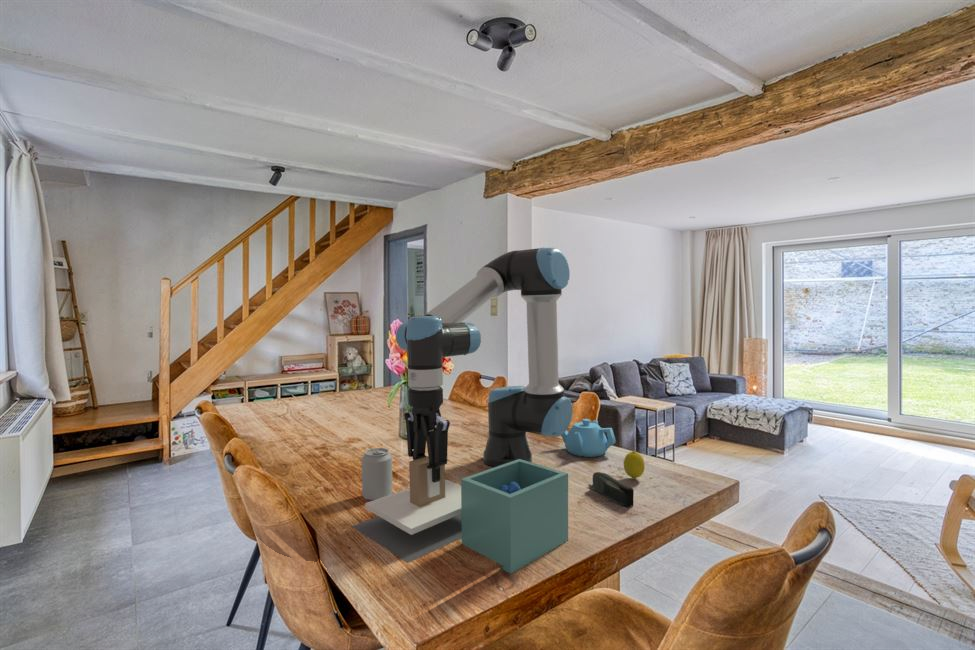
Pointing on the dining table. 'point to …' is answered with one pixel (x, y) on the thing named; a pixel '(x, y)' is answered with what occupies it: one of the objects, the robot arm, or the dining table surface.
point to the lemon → (634, 464)
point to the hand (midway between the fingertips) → (427, 492)
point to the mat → (411, 537)
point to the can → (376, 473)
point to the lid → (419, 501)
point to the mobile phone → (613, 489)
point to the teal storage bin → (515, 513)
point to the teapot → (588, 439)
